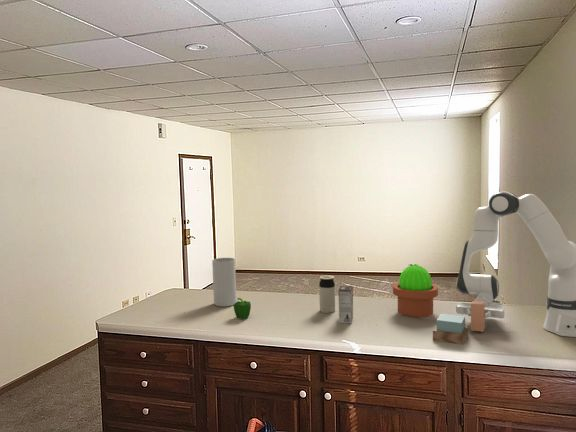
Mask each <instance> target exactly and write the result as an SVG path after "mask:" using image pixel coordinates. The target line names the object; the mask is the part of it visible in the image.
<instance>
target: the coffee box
mask: <svg viewBox="0 0 576 432" xmlns="http://www.w3.org/2000/svg"><path fill="white" fill-rule="evenodd" d="M353 287H354V286H353V285H340V286H339V289H338V323H339V324H353V319H354V292H353V291H354V288H353Z"/></svg>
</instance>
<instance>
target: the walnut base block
mask: <svg viewBox="0 0 576 432" xmlns="http://www.w3.org/2000/svg"><path fill="white" fill-rule="evenodd" d="M468 332H469V327H468V326H467V325H465V328H464V330H463V332H462V334H460V333H453V332H445V331H438V330H437V325H436V326H435V327H434V329H433V330H432V340H433V341H438V342H445V343H451V344H456V345H464V343H465V342H466V340H467V338H468V336H469V333H468Z"/></svg>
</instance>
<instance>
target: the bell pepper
mask: <svg viewBox="0 0 576 432" xmlns="http://www.w3.org/2000/svg"><path fill="white" fill-rule="evenodd" d="M238 300H239V301H238ZM251 304H252V303H251V302H250V301H247V300H243V298H241V297H236V303H235V304H234V305H233V311H234V314H235V317H236V318H237V319H241V320H245V319H248V318H249V316H250V313H251V308H252V307H251V306H252V305H251Z"/></svg>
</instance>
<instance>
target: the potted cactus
mask: <svg viewBox="0 0 576 432" xmlns="http://www.w3.org/2000/svg"><path fill="white" fill-rule="evenodd" d="M404 268H405V267H404ZM392 293H393V295H394V296H396V297H397V312H398V314H399V315H402V316H405V317H410V318H427V317H430V316H432V315H433V314H434V298H437V297H438V295H439V286H438V285H437V284H435V283H433V282H432V277H431V274H430V273H429V271H428V270H427V269H426V268H425V267H424V266H421V265H419V264H412V263H410V264H409V265H408V266H407V267H406V268H405V269H402V271H401V273H400V275H399V278H398V282H395V283H394V284H393V285H392Z"/></svg>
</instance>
